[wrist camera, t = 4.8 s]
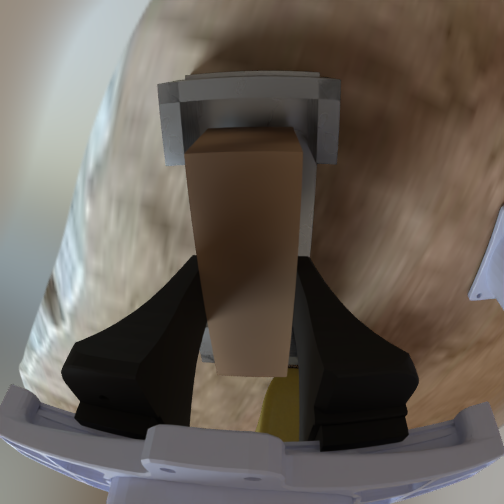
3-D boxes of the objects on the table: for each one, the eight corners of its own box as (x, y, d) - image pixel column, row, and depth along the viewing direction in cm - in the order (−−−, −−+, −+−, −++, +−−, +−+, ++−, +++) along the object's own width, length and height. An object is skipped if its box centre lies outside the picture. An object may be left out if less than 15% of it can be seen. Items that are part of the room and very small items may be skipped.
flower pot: (260, 349, 23) (255, 457, 16) (366, 354, 23) (385, 453, 16) (250, 401, 28) (245, 485, 21) (335, 404, 28) (343, 484, 21)
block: (292, 127, 12) (302, 151, 9) (284, 320, 18) (286, 377, 15) (208, 128, 12) (184, 154, 9) (225, 319, 18) (217, 375, 15)
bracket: (323, 72, 12) (341, 74, 9) (305, 322, 21) (308, 366, 18) (183, 75, 13) (157, 79, 10) (211, 321, 22) (203, 363, 19)
